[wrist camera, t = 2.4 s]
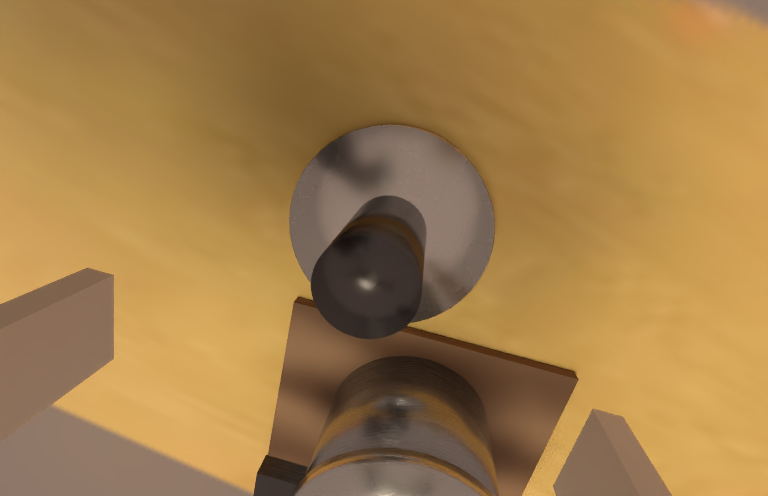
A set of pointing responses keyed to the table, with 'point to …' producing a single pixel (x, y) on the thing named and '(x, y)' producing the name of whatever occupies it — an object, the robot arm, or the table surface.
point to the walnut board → (474, 363)
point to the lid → (390, 228)
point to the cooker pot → (394, 438)
